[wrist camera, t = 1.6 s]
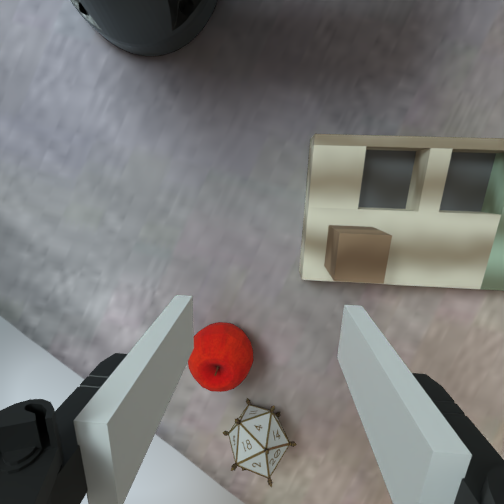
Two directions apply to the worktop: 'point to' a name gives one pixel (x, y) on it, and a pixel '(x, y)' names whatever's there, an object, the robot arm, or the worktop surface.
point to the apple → (220, 357)
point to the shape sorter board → (411, 205)
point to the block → (357, 253)
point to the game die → (258, 441)
